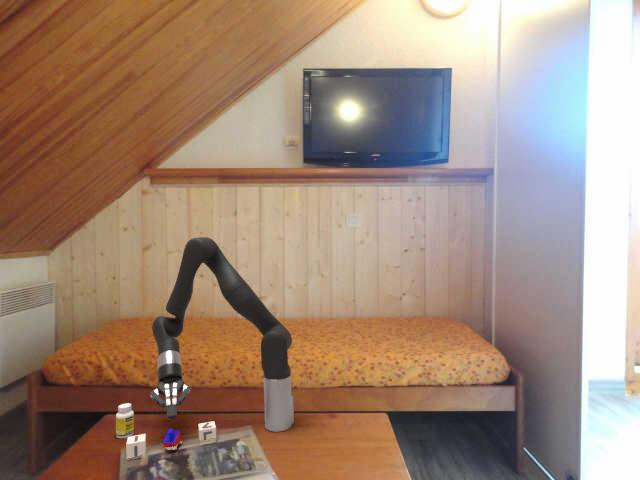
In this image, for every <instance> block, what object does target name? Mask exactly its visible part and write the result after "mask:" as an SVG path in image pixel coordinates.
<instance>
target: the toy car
mask: <svg viewBox="0 0 640 480" xmlns="http://www.w3.org/2000/svg"><path fill="white" fill-rule="evenodd" d="M182 440H183V438H182V435H181V431H180V430H174V429H173V428H169V429H168V430H167V433H166V434H165V437H164V439H163V441H162V444H163V448H165V447H172V446H173V447H174V446H176V445H177V444H178V443H179V442H180V441H182Z"/></svg>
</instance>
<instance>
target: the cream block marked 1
mask: <svg viewBox="0 0 640 480" xmlns="http://www.w3.org/2000/svg"><path fill="white" fill-rule="evenodd" d="M126 439H127V440H126V446H125V447H126V460H127V459H128V458H132V457H137V456H140V455H142V454H145V451H146V452H147V434H146V433H141V434H137V435H136V434H135V435H131V436H129V437H127V438H126Z"/></svg>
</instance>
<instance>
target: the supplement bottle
mask: <svg viewBox="0 0 640 480" xmlns="http://www.w3.org/2000/svg"><path fill="white" fill-rule="evenodd" d="M117 411H118V412H117V413H116V414H115V436H116V437H115V438H117V439H128V437H130V436H134V433H135V412H134V410H132V403H129V402H127V403H121V404H120V405H118V407H117Z"/></svg>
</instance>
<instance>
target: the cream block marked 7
mask: <svg viewBox="0 0 640 480" xmlns="http://www.w3.org/2000/svg"><path fill="white" fill-rule="evenodd" d="M210 438H216V439H217V426H216V423H215V421H214V420H213V421H207V422H202V423H198V441H199V440H206V439H210Z"/></svg>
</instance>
